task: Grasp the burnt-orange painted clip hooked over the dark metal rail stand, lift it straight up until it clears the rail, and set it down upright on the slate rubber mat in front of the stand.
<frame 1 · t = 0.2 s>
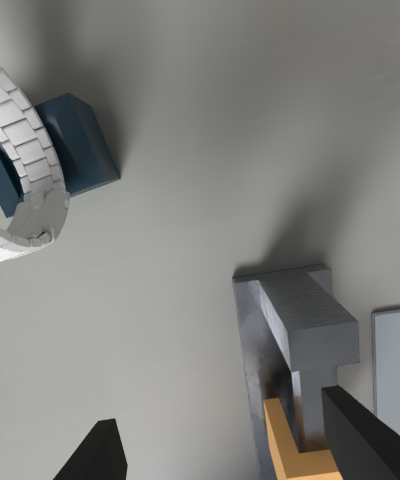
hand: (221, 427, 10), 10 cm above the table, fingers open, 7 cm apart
clip: (299, 420, 20), point 2 cm above the table, touching rail stand
rail stand: (290, 400, 22), on the table
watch: (63, 158, 18), on the table
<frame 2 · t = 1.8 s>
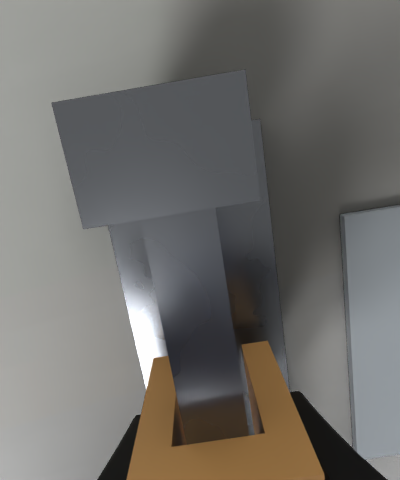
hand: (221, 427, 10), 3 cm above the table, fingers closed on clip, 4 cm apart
clip: (218, 393, 12), point 2 cm above the table, touching gripper, rail stand
rail stand: (215, 365, 14), on the table
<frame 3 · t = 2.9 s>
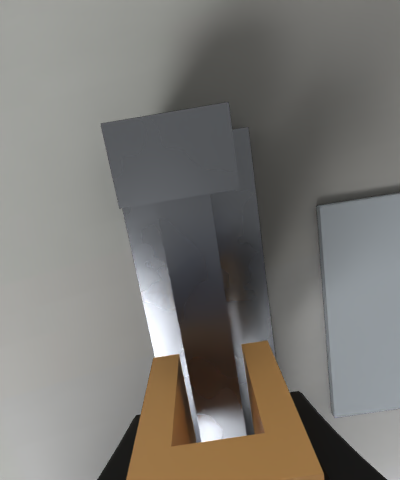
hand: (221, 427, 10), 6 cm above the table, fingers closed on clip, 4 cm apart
clip: (217, 393, 12), point 4 cm above the table, touching gripper
rail stand: (212, 335, 16), on the table
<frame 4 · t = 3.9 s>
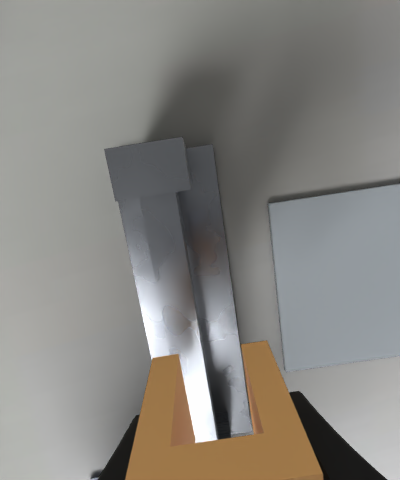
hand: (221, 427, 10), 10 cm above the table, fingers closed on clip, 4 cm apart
clip: (217, 393, 12), point 9 cm above the table, touching gripper
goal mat: (350, 280, 20), on the table
rail stand: (188, 304, 21), on the table
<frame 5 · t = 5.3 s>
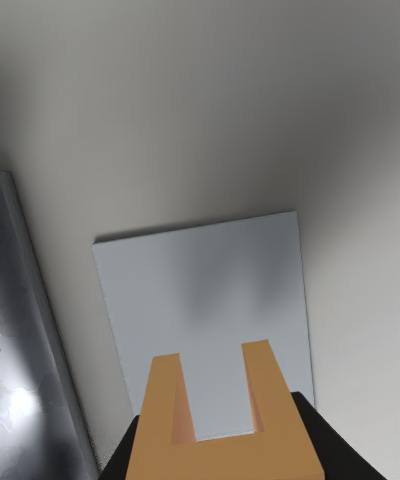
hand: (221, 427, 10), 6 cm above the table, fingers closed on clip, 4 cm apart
clip: (217, 392, 12), point 4 cm above the table, touching gripper
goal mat: (211, 336, 16), on the table
rail stand: (11, 367, 17), on the table
when the fingers open (3 cm above the table, at t = 6.2 s): clip drops 1 cm, resting on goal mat.
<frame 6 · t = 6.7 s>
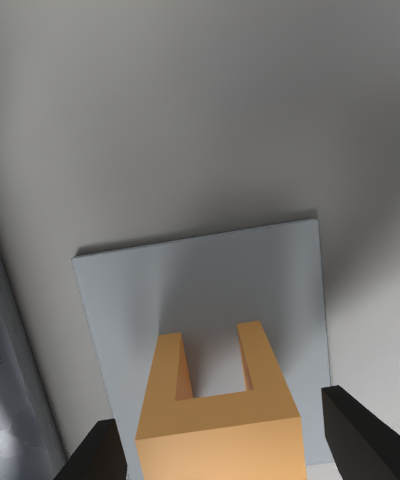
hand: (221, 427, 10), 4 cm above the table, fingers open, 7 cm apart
clip: (215, 368, 13), resting on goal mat
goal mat: (215, 364, 14), on the table
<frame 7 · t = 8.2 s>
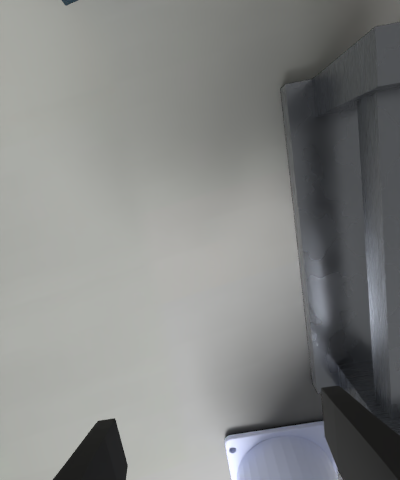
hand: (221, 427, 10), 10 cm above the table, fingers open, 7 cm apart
rail stand: (343, 244, 20), on the table
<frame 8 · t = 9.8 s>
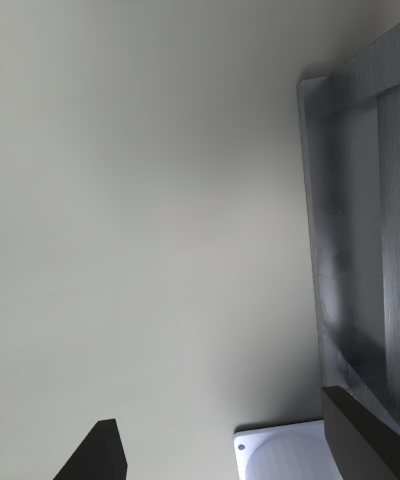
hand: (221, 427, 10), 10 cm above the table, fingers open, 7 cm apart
rail stand: (356, 241, 20), on the table
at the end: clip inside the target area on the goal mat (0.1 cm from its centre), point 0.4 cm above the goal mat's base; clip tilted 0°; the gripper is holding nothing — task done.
